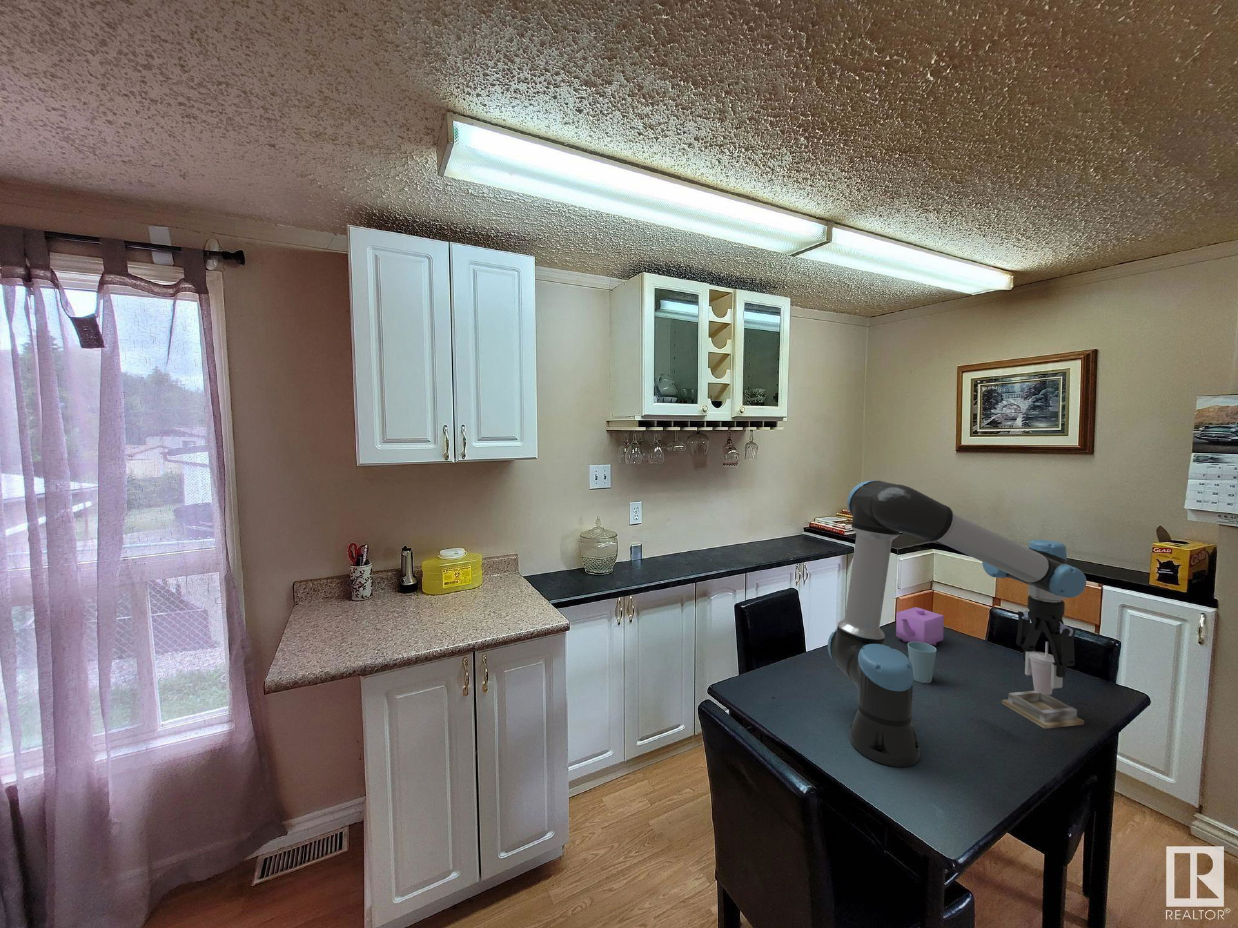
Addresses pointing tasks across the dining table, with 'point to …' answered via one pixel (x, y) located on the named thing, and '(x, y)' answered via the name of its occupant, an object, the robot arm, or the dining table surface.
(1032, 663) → the smoothie
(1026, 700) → the tray
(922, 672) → the cup
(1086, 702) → the dining table surface
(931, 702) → the dining table surface
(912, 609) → the purple box
